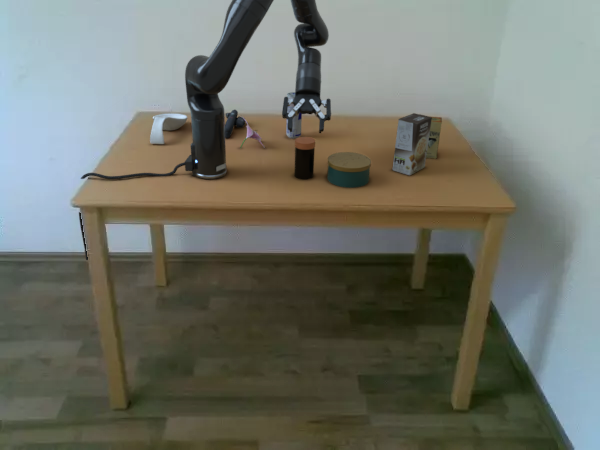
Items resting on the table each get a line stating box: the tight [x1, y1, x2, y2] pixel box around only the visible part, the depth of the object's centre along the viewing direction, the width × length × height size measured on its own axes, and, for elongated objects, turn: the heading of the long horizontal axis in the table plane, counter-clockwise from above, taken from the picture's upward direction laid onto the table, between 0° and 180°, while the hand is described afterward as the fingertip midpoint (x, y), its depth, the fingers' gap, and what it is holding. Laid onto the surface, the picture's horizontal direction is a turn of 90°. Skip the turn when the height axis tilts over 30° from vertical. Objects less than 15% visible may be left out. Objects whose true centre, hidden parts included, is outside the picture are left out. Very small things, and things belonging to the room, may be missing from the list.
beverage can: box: [285, 91, 303, 140], centre depth 198 cm, size 5×5×15 cm
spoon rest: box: [149, 113, 188, 145], centre depth 199 cm, size 24×12×7 cm, turn 178°
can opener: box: [224, 109, 246, 139], centre depth 203 cm, size 18×7×6 cm, turn 172°
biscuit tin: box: [326, 151, 372, 189], centre depth 169 cm, size 12×12×6 cm
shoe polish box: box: [426, 116, 443, 160], centre depth 186 cm, size 5×5×12 cm
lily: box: [239, 117, 266, 149], centre depth 190 cm, size 12×12×10 cm
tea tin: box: [293, 136, 316, 181], centre depth 169 cm, size 6×6×11 cm
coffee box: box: [392, 112, 433, 176], centre depth 175 cm, size 9×6×16 cm
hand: (305, 131), depth 170 cm, fingers open, 8 cm apart
